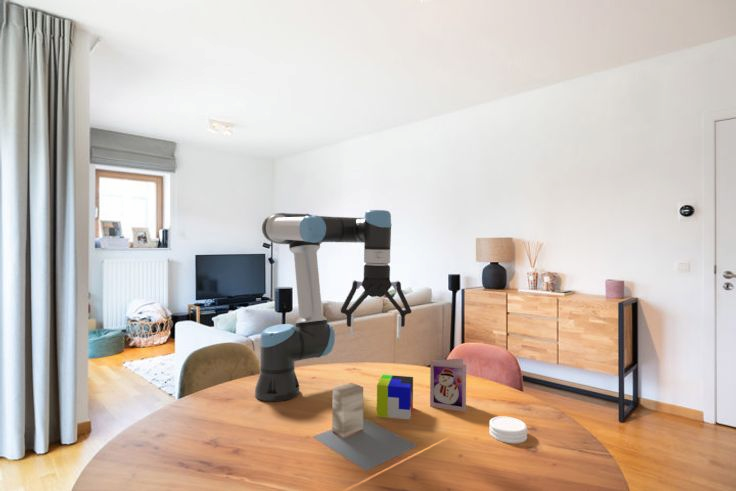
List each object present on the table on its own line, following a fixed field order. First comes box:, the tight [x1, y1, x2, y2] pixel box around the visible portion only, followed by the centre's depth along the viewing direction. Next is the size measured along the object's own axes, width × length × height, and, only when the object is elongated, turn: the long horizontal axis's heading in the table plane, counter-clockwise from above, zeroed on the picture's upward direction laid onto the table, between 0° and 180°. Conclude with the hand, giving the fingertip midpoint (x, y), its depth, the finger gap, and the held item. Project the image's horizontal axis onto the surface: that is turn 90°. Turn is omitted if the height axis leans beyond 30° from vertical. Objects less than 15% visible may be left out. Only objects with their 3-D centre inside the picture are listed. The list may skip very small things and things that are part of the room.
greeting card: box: [429, 358, 467, 413], centre depth 134 cm, size 11×7×15 cm, turn 68°
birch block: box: [331, 382, 364, 439], centre depth 114 cm, size 5×7×12 cm
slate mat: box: [312, 417, 419, 472], centre depth 109 cm, size 22×18×1 cm
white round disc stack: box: [488, 415, 528, 444], centre depth 114 cm, size 10×10×4 cm
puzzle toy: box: [376, 374, 414, 420], centre depth 128 cm, size 10×10×10 cm
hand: (375, 337), depth 118 cm, fingers open, 13 cm apart
